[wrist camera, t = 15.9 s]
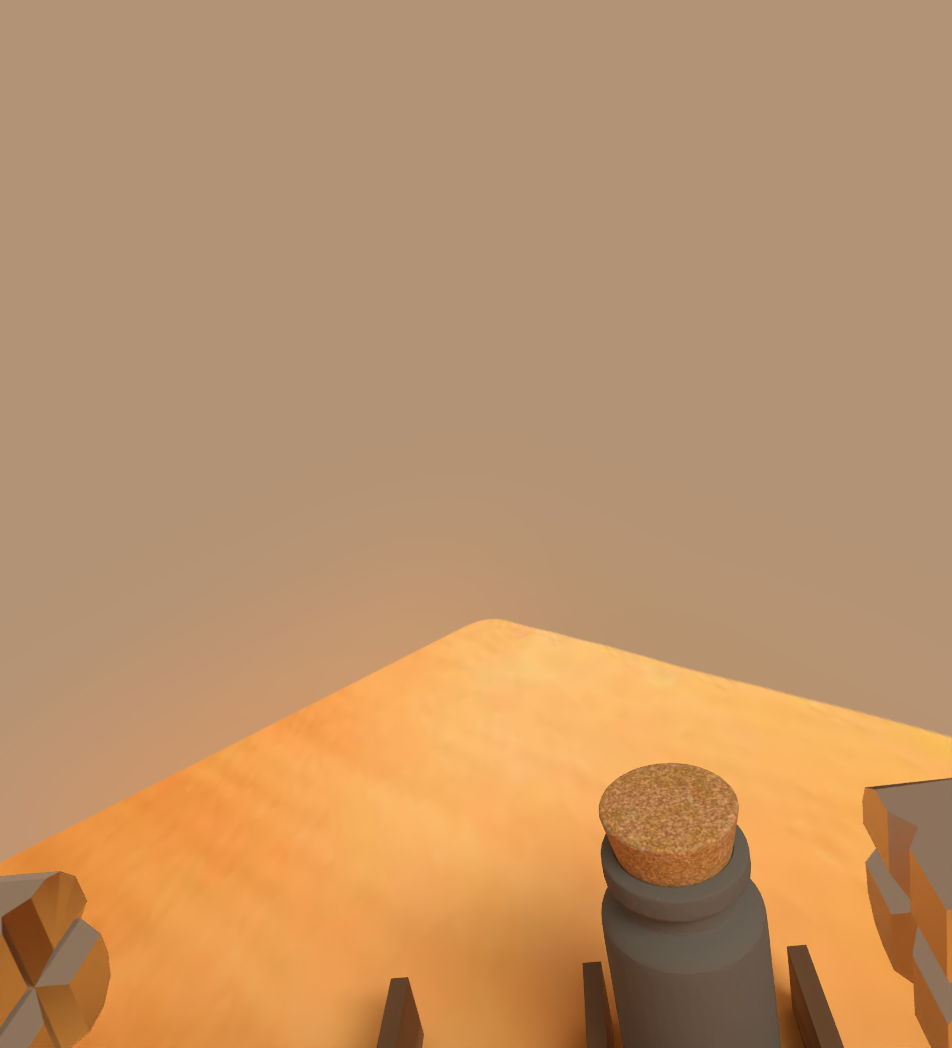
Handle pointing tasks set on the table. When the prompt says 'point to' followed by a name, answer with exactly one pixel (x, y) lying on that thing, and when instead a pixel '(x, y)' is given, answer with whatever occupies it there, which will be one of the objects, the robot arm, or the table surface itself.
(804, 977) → the notched rack
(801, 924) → the table surface
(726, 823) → the bottle
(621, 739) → the table surface
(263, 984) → the table surface
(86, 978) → the robot arm
